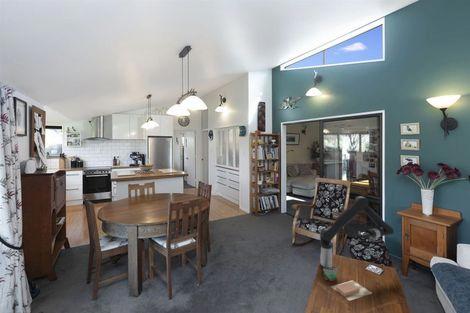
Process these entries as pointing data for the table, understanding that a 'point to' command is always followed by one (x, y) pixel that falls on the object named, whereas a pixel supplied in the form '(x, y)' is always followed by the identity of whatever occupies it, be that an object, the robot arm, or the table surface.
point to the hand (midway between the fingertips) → (357, 236)
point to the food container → (330, 273)
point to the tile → (347, 289)
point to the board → (356, 295)
